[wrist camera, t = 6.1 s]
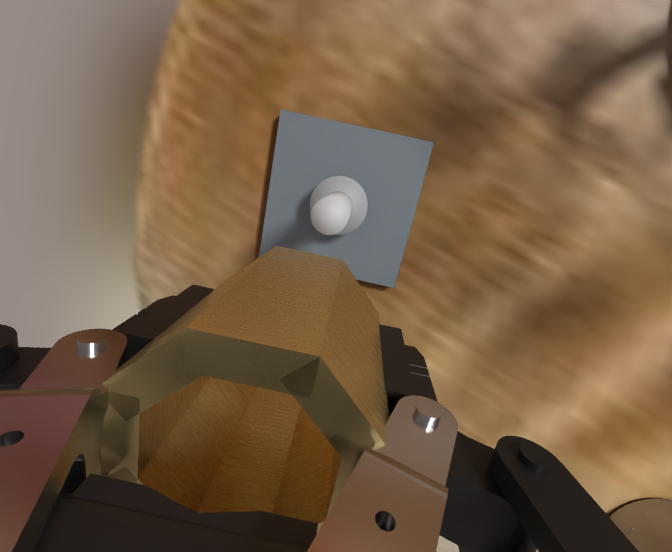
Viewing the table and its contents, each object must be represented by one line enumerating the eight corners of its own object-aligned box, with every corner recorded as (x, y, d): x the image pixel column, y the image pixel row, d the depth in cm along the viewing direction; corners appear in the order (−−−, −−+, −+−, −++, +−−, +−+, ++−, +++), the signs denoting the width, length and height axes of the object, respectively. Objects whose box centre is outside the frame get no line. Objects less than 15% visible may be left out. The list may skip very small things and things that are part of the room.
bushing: (389, 269, 11) (415, 376, 6) (355, 404, 13) (347, 595, 7) (229, 235, 11) (92, 307, 6) (215, 374, 13) (97, 539, 7)
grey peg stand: (431, 143, 28) (461, 130, 19) (393, 283, 32) (402, 330, 22) (284, 111, 29) (243, 83, 19) (262, 254, 32) (219, 288, 23)
